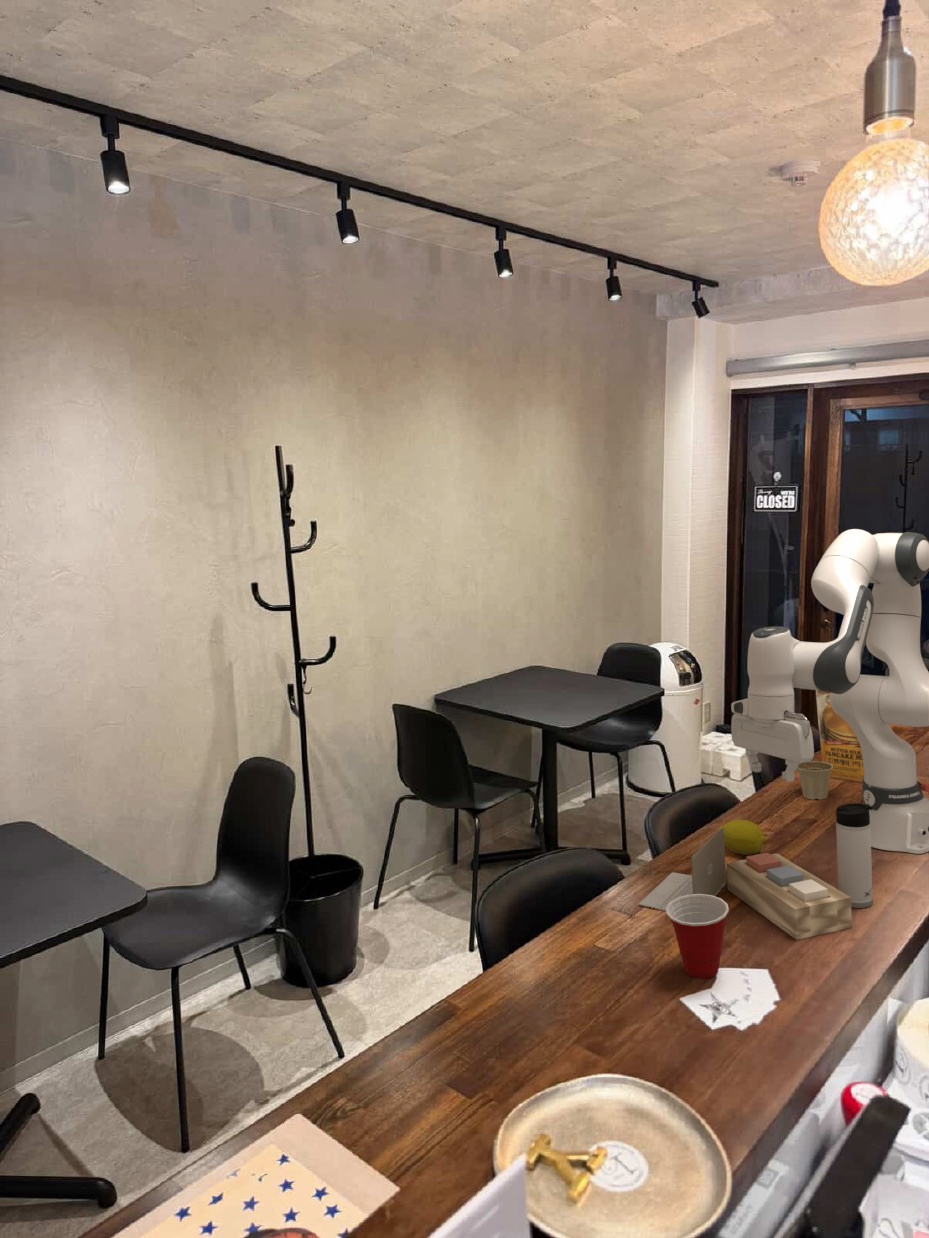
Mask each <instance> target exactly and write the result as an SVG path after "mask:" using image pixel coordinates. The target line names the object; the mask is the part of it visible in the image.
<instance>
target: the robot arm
mask: <svg viewBox="0 0 929 1238" xmlns="http://www.w3.org/2000/svg"><path fill="white" fill-rule="evenodd" d="M928 572H929V539H928V538H927V537H926V536H925V535H924V534H922V533H917V532H909V531H905V532H884V533H882V532H881V533H875V534H871V533H870V532H869V531H866V530H864V529H859V528H852V529H847V530H845V531H843V532H841V533H840V534H839V535H838V536H837V537H836V538H835V539H834V540H833V542H831V544H830V545H829V547H827V549H826V551H825V552H824V554H823V555H822V557H821V558H820V560H819V562H818V564H817V566H816V567H815V569H814V571H813V574H812V577H811V581H810V584H811V585H810V587H811V589H812V593H813V595H814V596H815V599H816V600H818V602H819V603H820V604H821V605H823V606H824V607H825V608H827V609H828V610H830V611H832V612H834V613H838V614H841V615H843V619H842V622H841V625H840V628H839V633H838V636H837V638H835V639H834V640H831V641H828V642H827V641H826V642H814V641H813V642H812V641H802V640H801V641H800V640H798V639H796V638H794V637H793V636H792V633H791V630H790V629H789V628H788V627H784V626H778V625H777V626H775V625H774V626H767V627H762V628H758V629H756V630H754V631H753V632H751V635H750V638H749V641H748V648H747V675H748V678H749V686H748V688H747V689H748V690H747V698H744V699H740V700H737V701H734V702H732V703H731V705H730V706H731V707H730V708H731V713H733V714H732V716H731V724H730V725H731V726H730V727H731V729H730V730H731V742H732V743H733V745H734V746H735V747H737V748H741V749H744V750H745V756H746V757H747V760H748V763H749V771H750V772H753V773H760V772H762V763H761V762H759V758H758V754H759V753H761V754H764V755H769V756H772V757H776V758H780V759H783V760H784V761H785V765H786V769H785V771H781V776H782V777H781V779H782V781H784V782H788V783H790V782H794V781H795V772H796V771H797V767H798V766H799V763H800V762H808V761H813V759H814V756H815V749H814V747H815V745H814V739H813V732H812V728H811V724H810V723H811V722H810V721H809V720H808V718H807V717H806V716H805V715H804V714H803V713H796V712H795V690H794V689H795V688H796V689H802V690H812V691H815V690H821V691H824V692H829V693H830V703H831V706H832V708H833V710H834V711H835V713H836V714H837V715H838V716H840V717H841V718H842V719H843V720H845V721H846V722H847V724H848V725H849V726H850V727H851V729H852V730H853V732H854V733H855V735H856V737H857V739H858V741H859V743H860V746H861V750H862V758H863V769H864V779H863V780H862V783H861V791H862V792H861V794H862V795H861V797H862V800H863V804H864V805H865V804H869V805H870V806H871V808H872V810H869V815H870V831H871V848H874V849H879V850H884V851H892V852H904V853H910V854H917V855H922V854H925V853H928V852H929V799H928V798H927V797H926V796H925V794H924V792H926V793H928V794H929V783H927V782H924V781H923V782H922V783H921V782H920V781H918V780H917V754H916V751H915V750H914V747H913V746H912V745H911V744H910V743H909V742H908V741H906V740H905V739H903V738H901V737H899V736H898V735H897V734H896V733H895V732H894V729H892V727H891V725H896V726H903V727H910V728H911V727H913V728H923V727H929V671H928V668H927V666H926V665H925V662H924V660H923V657H922V652H921V621H922V594H921V593H922V591H921V586H920V583H921V581H922V579H924V578H925V577H926V576H927V574H928ZM869 584H873V587H872V589H870V588H869V587H868V586H869ZM865 646H866V648H867V650H868V651H869V653H870V654H871V655H873V656H874V657H875V658H877V659H879V660H880V661H882V662H884V663H886V665H887V667H888V670H889V675H887V676H886V675H875V674H874V675H873V674H861V673H862V661H863V653H864V649H865ZM923 791H924V792H923Z"/></svg>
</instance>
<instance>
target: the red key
mask: <svg viewBox="0 0 929 1238" xmlns="http://www.w3.org/2000/svg"><path fill="white" fill-rule="evenodd" d="M745 859H746V863H747V866H749V867H751V868H752V869H754V870H755V871H757V872H758V873H763V872H767V869H773V868H778V867H781V861H780V860H779V859H777V858H775V857H774V856H772V855H771V854H770V853H769V852H764V853H759V854H758V853H756V854H751V855H746V856H745Z"/></svg>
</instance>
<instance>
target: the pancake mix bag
mask: <svg viewBox="0 0 929 1238" xmlns="http://www.w3.org/2000/svg"><path fill="white" fill-rule="evenodd" d="M814 691H815V700H816V713H817V723H818V724H817V725H818V730H819V740H820V750H821V762H826V763H829V764H831V765H832V766H833V769H832V770H831V774H830V778H829V779H834V780H839V781H840V780H841V781H846V782H854V783H859V784H862V780H863V779H864V769H863V758H862V750H861V746H860V743H859V741H858V739H857V737H856V735H855V733H854V732H853V730H852V729H851V727H850V726H849V725H848V724H847V722H846V721H845V720H843V719H842V718H841V717H840V716H838V715H837V714H836V713H835V711H834V710H833V708H832V706H831V703H830V693H829V692H824V691H821V690H814Z"/></svg>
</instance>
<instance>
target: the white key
mask: <svg viewBox="0 0 929 1238" xmlns="http://www.w3.org/2000/svg"><path fill="white" fill-rule="evenodd" d="M789 893H790V894H792V895H793V896H795V897H797V898H798V899H800V900H801V901H803V902H804V903H805V902H810V901H815V900H820V899H825V898H828V889H827V888H825V887H823V886H822V885H820V884H818V883H817V882H815V881H814V880H812V879H810V880H805V881H800V882H795V883H790V884H789Z"/></svg>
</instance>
